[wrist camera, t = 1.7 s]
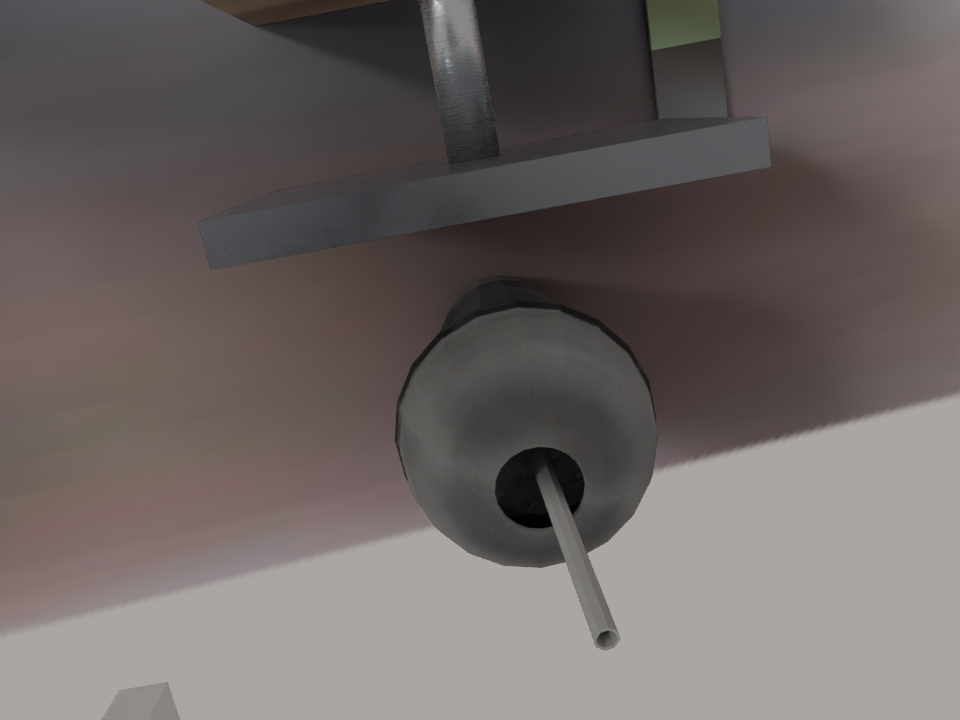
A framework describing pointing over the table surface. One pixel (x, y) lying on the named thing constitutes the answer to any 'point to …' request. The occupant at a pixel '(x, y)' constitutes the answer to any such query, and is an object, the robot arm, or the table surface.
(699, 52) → the brown boxy piece
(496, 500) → the beverage cup
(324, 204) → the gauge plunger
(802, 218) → the table surface
